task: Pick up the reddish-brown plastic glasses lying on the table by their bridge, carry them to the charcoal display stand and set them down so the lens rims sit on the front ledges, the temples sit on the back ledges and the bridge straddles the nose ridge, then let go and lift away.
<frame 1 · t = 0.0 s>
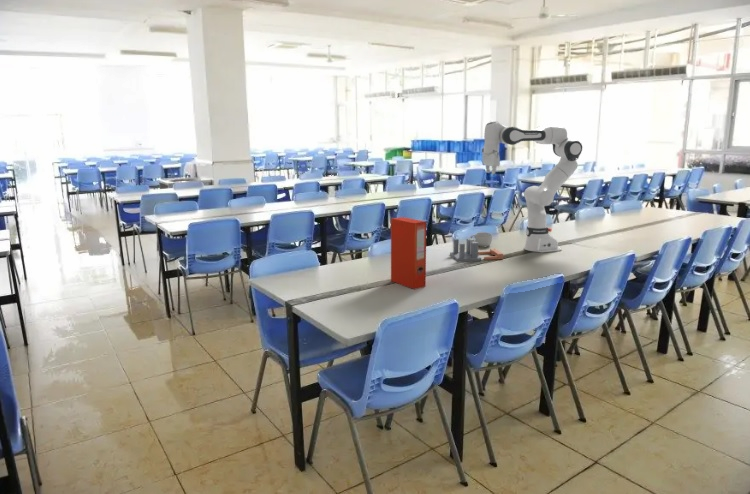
hand: (490, 173, 314), 48 cm above the table, tool pointing down, fingers open, 8 cm apart
file binder: (408, 284, 259), on the table
teacup: (480, 246, 340), on the table
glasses: (496, 256, 312), on the table
display stand: (471, 257, 310), on the table
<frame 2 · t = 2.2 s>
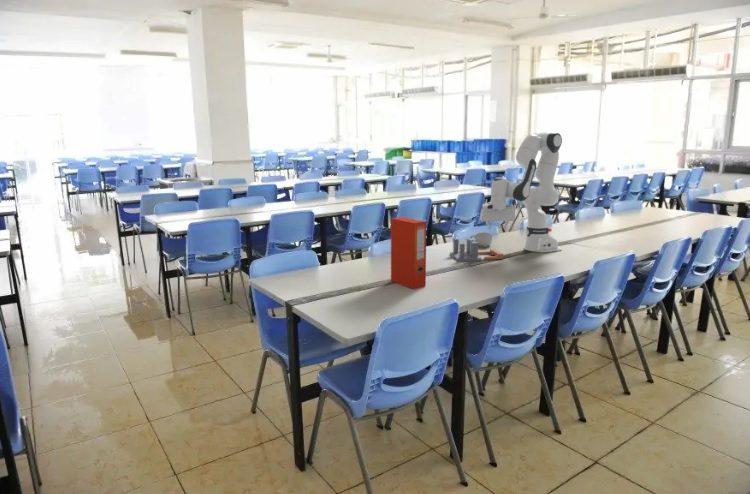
hand: (496, 228, 308), 17 cm above the table, tool pointing down, fingers open, 8 cm apart
nothing on the table moved.
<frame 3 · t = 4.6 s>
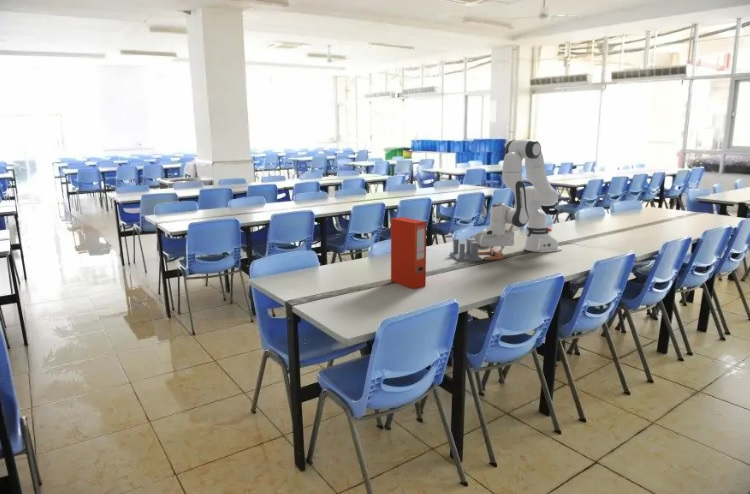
hand: (496, 253, 311), 2 cm above the table, tool pointing down, fingers closed on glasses, 3 cm apart
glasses: (496, 256, 312), on the table, touching gripper
everything else where it was.
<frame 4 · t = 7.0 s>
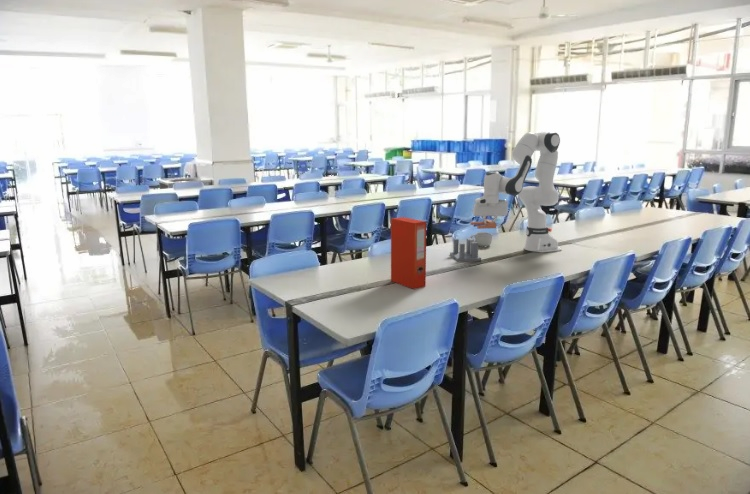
hand: (489, 223, 306), 20 cm above the table, tool pointing down, fingers closed on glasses, 3 cm apart
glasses: (489, 226, 307), point 18 cm above the table, touching gripper
everything else where it was.
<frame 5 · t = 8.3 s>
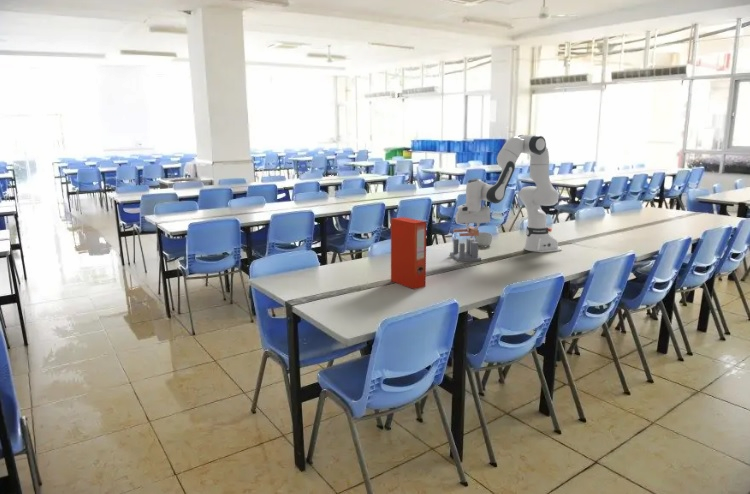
hand: (472, 230, 306), 16 cm above the table, tool pointing down, fingers closed on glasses, 3 cm apart
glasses: (472, 233, 307), point 14 cm above the table, touching gripper
everything else where it was.
when the fingers open (13 cm above the table, at t = 9.5 s): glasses stays where it is, resting on display stand.
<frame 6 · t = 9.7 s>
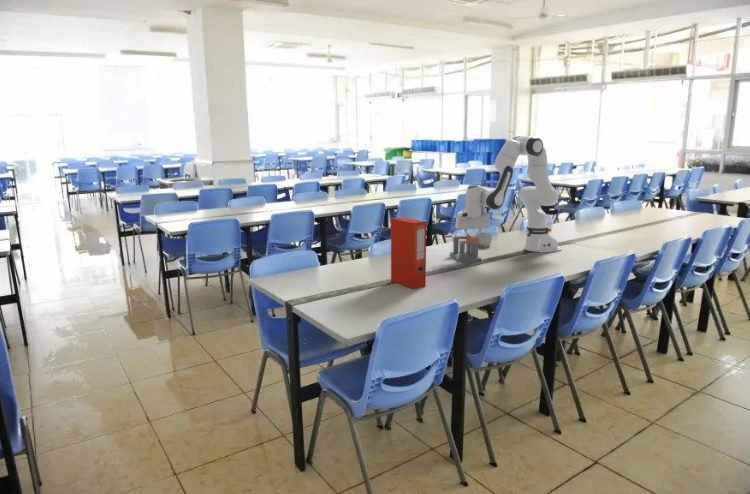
hand: (472, 236, 307), 13 cm above the table, tool pointing down, fingers open, 5 cm apart
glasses: (472, 240, 308), point 10 cm above the table, touching display stand
everything else where it was.
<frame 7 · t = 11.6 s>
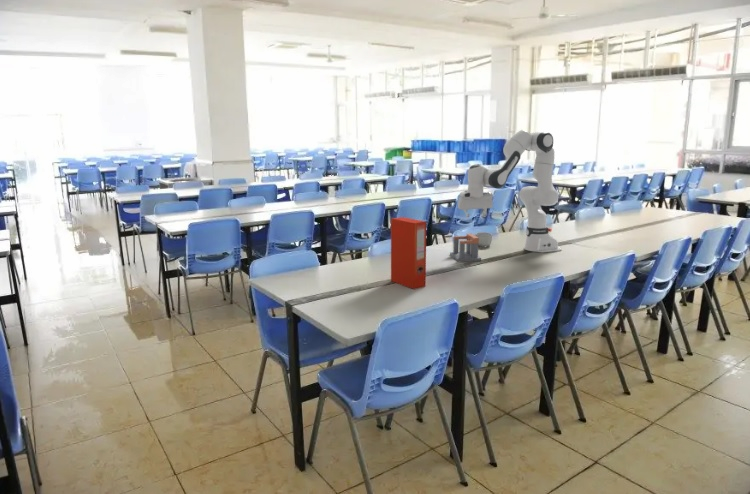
hand: (475, 216, 307), 24 cm above the table, tool pointing down, fingers open, 8 cm apart
nothing on the table moved.
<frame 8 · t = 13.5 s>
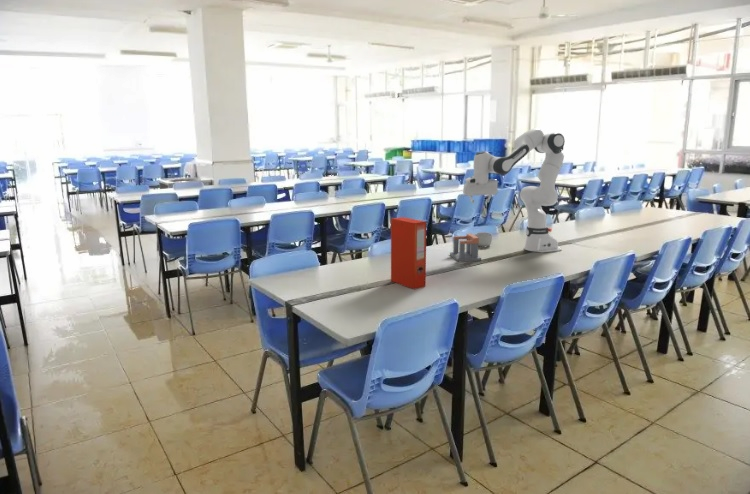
hand: (480, 202, 313), 31 cm above the table, tool pointing down, fingers open, 8 cm apart
nothing on the table moved.
at the end: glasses 0.1 cm off-centre on the display stand, point 10.0 cm above the display stand's base; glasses tilted 0°; the gripper is holding nothing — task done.
